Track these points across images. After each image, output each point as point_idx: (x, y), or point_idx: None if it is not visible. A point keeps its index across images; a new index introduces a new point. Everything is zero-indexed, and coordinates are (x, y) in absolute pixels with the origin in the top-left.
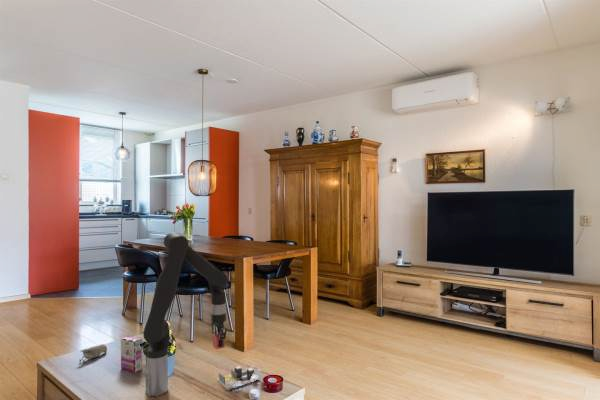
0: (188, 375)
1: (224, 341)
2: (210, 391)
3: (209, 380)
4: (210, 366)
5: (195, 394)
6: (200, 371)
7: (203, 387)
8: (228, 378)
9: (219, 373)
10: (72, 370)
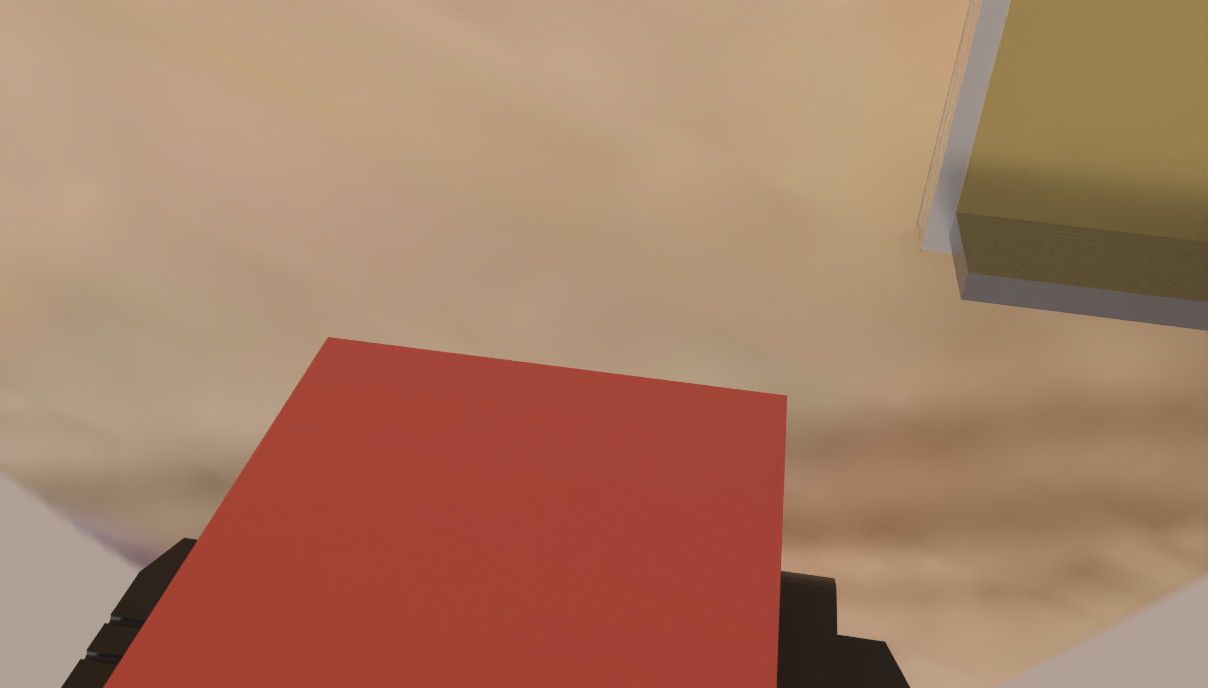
0: None
1: (770, 648)
2: (1172, 501)
3: (775, 325)
4: (159, 3)
5: (1038, 665)
6: (296, 267)
7: (936, 506)
8: (1151, 78)
9: (981, 292)
10: None
